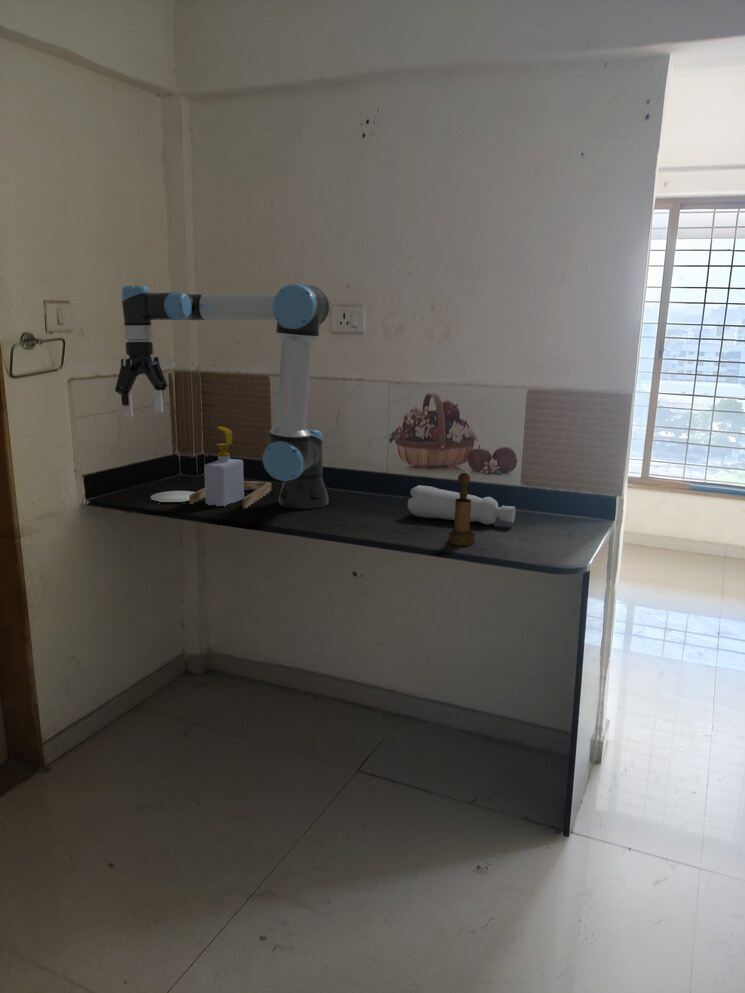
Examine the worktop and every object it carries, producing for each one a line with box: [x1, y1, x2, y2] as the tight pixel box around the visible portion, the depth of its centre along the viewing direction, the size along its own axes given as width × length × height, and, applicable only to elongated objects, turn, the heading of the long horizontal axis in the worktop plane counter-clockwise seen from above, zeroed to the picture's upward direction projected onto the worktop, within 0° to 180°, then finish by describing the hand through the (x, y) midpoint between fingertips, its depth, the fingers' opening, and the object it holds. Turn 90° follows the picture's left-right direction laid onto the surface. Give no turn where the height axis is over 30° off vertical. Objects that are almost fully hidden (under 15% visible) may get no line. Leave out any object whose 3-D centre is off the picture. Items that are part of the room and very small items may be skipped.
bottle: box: [407, 484, 517, 526], centre depth 216 cm, size 9×9×30 cm
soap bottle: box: [203, 425, 245, 507], centre depth 233 cm, size 12×7×23 cm, turn 157°
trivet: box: [149, 490, 196, 502], centre depth 240 cm, size 15×15×1 cm
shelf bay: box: [189, 480, 273, 509], centre depth 241 cm, size 18×24×3 cm
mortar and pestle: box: [448, 472, 475, 546], centre depth 194 cm, size 7×6×18 cm
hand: (144, 414), depth 226 cm, fingers open, 13 cm apart
